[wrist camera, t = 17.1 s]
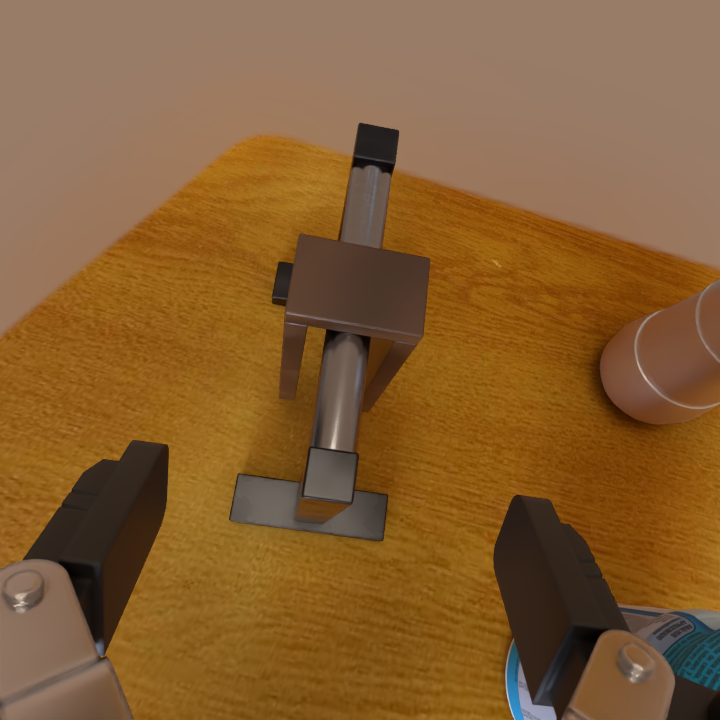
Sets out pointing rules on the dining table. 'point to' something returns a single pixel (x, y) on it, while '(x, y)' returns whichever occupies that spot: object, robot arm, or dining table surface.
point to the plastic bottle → (667, 361)
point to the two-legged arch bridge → (355, 306)
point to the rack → (333, 385)
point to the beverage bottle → (661, 629)
